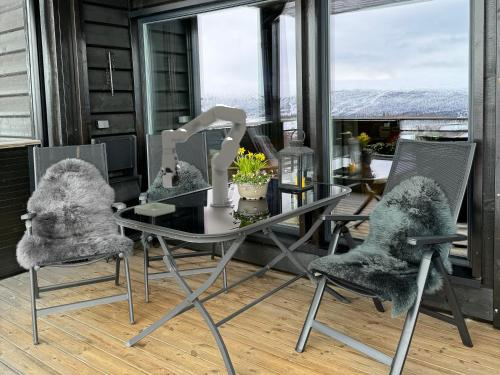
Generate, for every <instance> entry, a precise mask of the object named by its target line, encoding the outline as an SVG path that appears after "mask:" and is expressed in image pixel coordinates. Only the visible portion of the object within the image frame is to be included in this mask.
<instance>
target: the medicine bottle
mask: <svg viewBox="0 0 500 375" xmlns="http://www.w3.org/2000/svg"><path fill="white" fill-rule="evenodd" d="M165 172H166V175H164V174H163V175H162V187H163V188H167V189H168V188H169V189H174V188H178V187H180V186H181V182H180V180H181V179H180V174H179V175H178V182H174V173H173V171H171V169H170V168H168V167H167V168H165ZM175 172H176V171H175Z"/></svg>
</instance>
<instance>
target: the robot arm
mask: <svg viewBox="0 0 500 375" xmlns="http://www.w3.org/2000/svg"><path fill="white" fill-rule="evenodd" d="M247 117H248V114H247V112H246V111H245V110H244V109H243V108H238V107H233V106H227V105H224V104H216V105H214V106H212V107H211V108H209V109H207V110H206V111H204V112H203V113H201V114H199V115H198V116H196V117H195V118H194V119H192V120H190V121H189V122H187V123H185V124H184V125H183V126H181V127H178V128H177V129H176V130H173V129H166V130H162V131H161V142H162V144H161V145H162V155H161V166H159V169H160V170H161V172H162V174H163V175H166V172H165V168H167V167H168V168H170V169H171V171H173V173H174V182H178V175H179V176H180V172H181V171H182V168H181V166H180V161H179V157H178V154H177V149H176V143H185V142H187V141H188V139H189V138H190V137H191V136H193V135H194V134H197V133H198V132H201V131H204V130H206V129H208V128H209V127H211V126H212V125H214V124H216V123H217V122H219V121H225V122H231V125H232V126H231V128H230V129H229V131H228V133H227V135H226V136H225V138H224V139H223V141H222V142H221V149H220V150H219V152H217V153H214V154H213V155H212V157H211V161H210V162H211V163H210V164H211V166H210V167H211V191H212V195H211V196H212V202H210V203H209V205H210V207H215V208H216V207H217V208H222V207H229V206H231V205H232V204H233V203H234V200H232V199H230V197H229V175H228V172H229V171H228V168H229V167H230V166H231V164H232V163H233V162H234V160H235V158H236V156H237V154H238V153H239V151H240V147H241V146H240V142H241V141H242V139H243V137H244V135H245V133H246V131H247ZM175 171H176V172H175Z"/></svg>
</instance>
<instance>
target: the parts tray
mask: <svg viewBox="0 0 500 375" xmlns="http://www.w3.org/2000/svg"><path fill="white" fill-rule="evenodd" d="M174 212H176V205H174V204H170V203H169V204H167V203H162V202H151V203H147V204H142V205H138V206H134V214H136V213H137V214H136V215H141V216H142V215H143V216H148V217H159V216H163V215H166V214H167V215H168V214H171V213H174Z"/></svg>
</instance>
